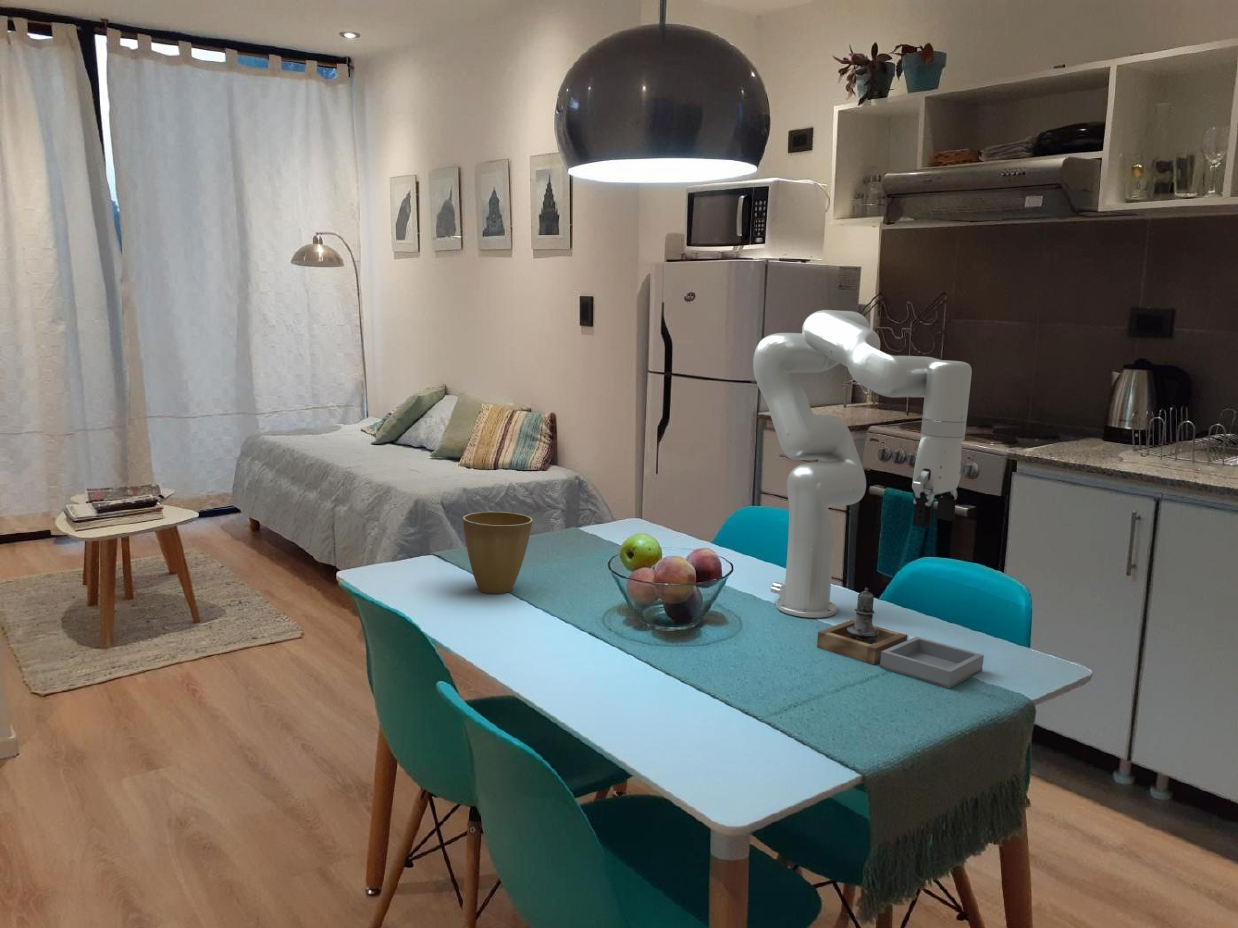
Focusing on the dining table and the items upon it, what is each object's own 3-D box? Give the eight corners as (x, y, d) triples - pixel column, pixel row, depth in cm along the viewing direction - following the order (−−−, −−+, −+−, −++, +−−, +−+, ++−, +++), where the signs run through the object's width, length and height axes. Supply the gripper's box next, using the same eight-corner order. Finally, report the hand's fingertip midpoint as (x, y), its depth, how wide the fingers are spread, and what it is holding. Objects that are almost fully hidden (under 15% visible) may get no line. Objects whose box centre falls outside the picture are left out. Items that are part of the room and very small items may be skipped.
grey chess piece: (878, 655, 181) (883, 592, 179) (846, 652, 182) (850, 589, 180) (876, 645, 186) (881, 584, 185) (845, 642, 187) (850, 581, 186)
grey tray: (879, 667, 174) (881, 651, 174) (915, 651, 184) (916, 636, 183) (948, 688, 165) (950, 671, 165) (982, 670, 175) (983, 654, 174)
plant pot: (503, 603, 203) (504, 528, 201) (447, 590, 211) (448, 518, 208) (543, 587, 216) (545, 516, 214) (489, 576, 224) (491, 508, 221)
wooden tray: (816, 647, 184) (818, 631, 183) (850, 634, 192) (851, 619, 192) (873, 664, 176) (875, 648, 175) (906, 650, 184) (907, 634, 184)
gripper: (943, 424, 183) (934, 513, 186) (901, 430, 171) (891, 525, 174) (983, 429, 179) (972, 520, 181) (942, 435, 166) (931, 533, 169)
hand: (933, 523), depth 178 cm, fingers open, 9 cm apart
